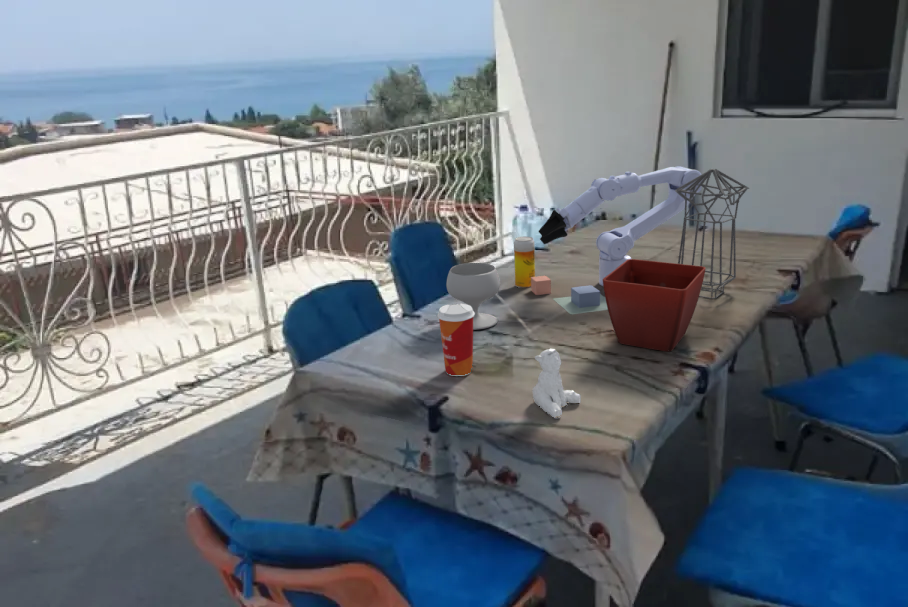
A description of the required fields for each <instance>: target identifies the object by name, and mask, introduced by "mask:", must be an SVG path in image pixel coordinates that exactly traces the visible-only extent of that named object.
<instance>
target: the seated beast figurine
mask: <svg viewBox="0 0 908 607" xmlns="http://www.w3.org/2000/svg"><path fill="white" fill-rule="evenodd" d="M534 360H535V361H537V362H538V363H539V366H540V368H541V369H542V371H540V373H539V374H538V378H537V383H536V384H535V385H534V386H533V387H532V390H531V392H532V399H533V401H534V403H535V404H536V405H537V406H538V407H539V406H540V407H539V408H540V409H541V408H542V409H543V410H542V409H541V410H542V411H544V412H545V413H546V412H547V413H546V414H547V415H549V414H550V415H551V416H552V417H554V418H553V419H556V418H555V417H556V416H560V415H561V416H562V414H563V409H562V407H561V406H565V405H567V403H566V402H569V403H580V404H581V399H582V395H581V394H579V393H577V392H575V391H574V390H573V389H571V390H570V389H566V390H565V389H564V386H563V381H562V375H561V373H560V370H561V364H562V360H561V357H560V353H559V352H558V351H557V350H556V348H549V349H545V350H542V351H541V352H540V354H539V355H535V356H534ZM567 406H568V405H567ZM550 415H549V416H550ZM551 416H550V417H551ZM561 416H560V417H561ZM552 417H551V418H552Z"/></svg>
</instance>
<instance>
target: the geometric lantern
mask: <svg viewBox="0 0 908 607" xmlns="http://www.w3.org/2000/svg"><path fill="white" fill-rule="evenodd" d="M701 174H702V175H700V176H698V177H697V178H695V179H693V180H691V181H690V182H688V183H686V184H684V185H683V186H681V187H679V188H677V189H676V190H675V192H677V193H678V194H679V195H680V196H681V197H683V198H684V199H685V209H684V217H683V224H682V231H681V239H680V246H679V251H678V252H679V254H678V260H677V261H678V262H677V264H684V256H685V246H686V245H685V244H686V234H687V233H686V231H687V221H691V222H693V221H694V222H696V225H695V226H696V228H695V235H694V242H693V250H692V251H693V252H692V258H691V265H694V264H695V256H696V247H697V241H698V233H699V232H698V231H699V225H700V224H699V223H700V222H702V223H703V224H702V225H703V228H702V238H701V239H702V240H701V251H700V262H699V263H700V264H699V266H702V267H703V261H704V260H703V258H704V249H705V248H704V246H705V234H706V224H707V223H710V224H712V237H711V239H712V241H711V256H710V257H711V258H710V270H707V269H705V273H709V274H710V277H709V278H710V281H704V280H703V283H702V287H701V291H705V292H711V293H710V296H711V297H710V296H705V295H699V298H704V299H709V300H715V299H717V298H719V296H721V295H723V293H725V286H726V285H728V284H729V283H731V282H733V281H734V280H735V279H736V277H737V264H736V263H737V260H736V259H737V257H736V253H737V252H736V249H737V248H736V219H737V216H738V210H739V208H738V207H739V204H740V199H741V198H742V197H743V195H744V194H745V193H746V192H747V190H748V189H750V187H748V186H747V185H744V184H743V183H742V182H739V181H737V180H736V179H734V178H733V177H731V176H729V175H727V174H726V173H724V172H722V171H721V170H719V169H717V168H709V169H708V170H707V171H705V172H704V173H701ZM711 175H713V177H714V179H715V183H716V186H715V185H710V184H709V182H710V178H711ZM725 178H726V179H728V180H730V181H731V182H733V183H735V184H736V186H733V185H732V184H731V183H730V182H729V181H728V180H726V179H725ZM693 182H694V183H693ZM700 182H701V183H700ZM691 183H693V184H692V185H691V186H689V187H688V188H687V189H685V190H682V189H684V188H685V187H687V186H688V185H690V184H691ZM699 183H700V184H699ZM704 183H705V184H704ZM721 183H722V184H721ZM697 185H698V187H697V188H696V186H697ZM722 185H723V186H724V187H725V188H723V186H722ZM738 185H739V186H738ZM700 186H702V188H703V190H702V192H698V193H697V190H698V189H699V187H700ZM681 188H682V189H681ZM695 188H696V190H695ZM709 188H711V189H715V190H716V189H717V190H718V191H719V192H718V193H715V192H713V191H712V190H710V189H709ZM688 190H690V192H688ZM692 190H693V191H692ZM732 190H733V191H734V192H732ZM706 191H708V193H706ZM725 192H727V194H726V193H725ZM682 193H685V195H683V194H682ZM686 193H688V194H690V198H687V197H686ZM694 194H695V195H699V196H701V201H702V202H701V203H699V202H698V203H695V196H694ZM736 195H738V197H737V198H736ZM724 196H725V197H724ZM704 197H713V198H710V199H708V200H707V201H705V200H704ZM692 198H693V199H692ZM732 198H733V199H732ZM691 199H692V200H691ZM718 199H720V200H724V201H725V204H726V207H725V209H724V210H723V212H722V213H712V212H711V211H710V210H711V208H712V207H713V206H714V204H715V203H716V202H717V200H718ZM735 199H736V200H735ZM687 200H688V201H689V202H690V203H689V204H691V205H690V207H689V209H688V206H687ZM727 200H728V201H729V204H728V201H727ZM709 203H711V204H710V206H709V207H708V205H707V204H709ZM735 205H736V206H735ZM696 206H704V208H705V209H706V211H705V212H699V210H698V208H697V207H696ZM730 206H735V210H734V215H733V214H732V212H731V209H730ZM693 207H694V210H696V212H697V213H693V214H691V215H688V214H689V212H690V211H691V210H692V208H693ZM687 209H688V211H687ZM727 210H728V212H729V214H726V211H727ZM696 215H697V218H696V219H695V218H694V219H693V218H691V217H694V216H696ZM701 215H703V220H700V216H701ZM707 215H709V216H710V218H711V219H712V221H710V220H706V219H707ZM713 215H714V216H720V218H719V219H718V220H717V221H716V220H715V218H714V216H713ZM723 216H724V217H731V218H729V219H726V220H724V221H721V219H722V218H723ZM729 221H731V236H730V253H729V273H727V272H722V269H723V268H722V267H723V259H722V258H723V256H722V254H723V224H724V223H727V222H729ZM716 224H719V272H718V271H714V254H715V253H714V251H715V232H716V230H715V228H716ZM694 266H695V265H694ZM732 268H733V270H732ZM732 271H733V274H732ZM713 274H715V275H719V282H713V276H714V275H713ZM722 275H724V276H727V277H726V278H725V279H724V281H723V280H722V278H723V276H722ZM730 277H731V278H730ZM705 286H707V287H705ZM715 286H717V287H716V288H714V287H715ZM717 291H720V293H719V294H717ZM713 293H714V295H713ZM713 296H714V297H713Z"/></svg>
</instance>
